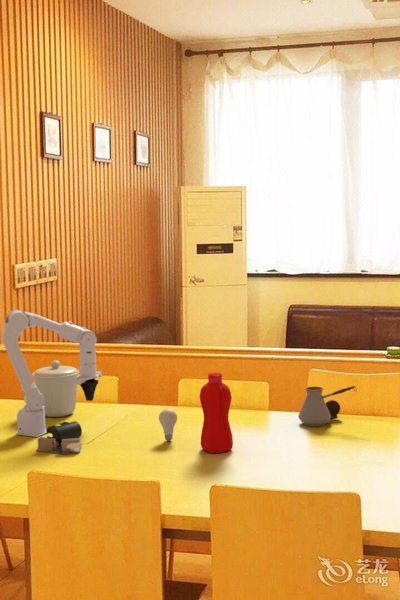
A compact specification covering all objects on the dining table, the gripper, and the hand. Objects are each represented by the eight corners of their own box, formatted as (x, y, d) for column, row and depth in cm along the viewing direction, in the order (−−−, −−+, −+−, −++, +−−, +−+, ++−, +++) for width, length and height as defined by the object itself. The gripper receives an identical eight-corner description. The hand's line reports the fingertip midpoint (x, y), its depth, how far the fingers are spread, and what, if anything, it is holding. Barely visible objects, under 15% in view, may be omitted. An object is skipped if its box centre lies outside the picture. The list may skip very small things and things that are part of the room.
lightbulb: (180, 439, 271) (179, 407, 270) (172, 444, 265) (171, 411, 264) (164, 437, 273) (163, 406, 272) (156, 442, 268) (155, 410, 267)
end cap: (60, 448, 264) (59, 428, 263) (46, 445, 268) (45, 425, 268) (82, 441, 272) (81, 422, 271) (68, 438, 276) (67, 419, 275)
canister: (77, 419, 301) (74, 364, 299) (29, 420, 302) (26, 365, 299) (84, 408, 319) (82, 355, 317) (39, 409, 319) (36, 356, 317)
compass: (334, 414, 299) (333, 395, 298) (340, 419, 291) (340, 399, 290) (313, 415, 298) (313, 396, 297) (319, 421, 290) (319, 401, 289)
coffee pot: (293, 425, 284) (292, 384, 282) (306, 418, 294) (305, 378, 292) (350, 432, 273) (350, 389, 271) (362, 424, 283) (361, 382, 281)
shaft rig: (36, 451, 262) (35, 438, 261) (46, 446, 267) (45, 434, 266) (73, 455, 255) (72, 443, 255) (83, 451, 260) (82, 438, 260)
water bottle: (213, 457, 250) (211, 378, 247) (197, 448, 260) (195, 372, 257) (239, 452, 254) (237, 374, 252) (222, 444, 264) (220, 369, 261)
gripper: (86, 367, 279) (87, 405, 280) (108, 360, 292) (109, 396, 293) (69, 366, 282) (71, 404, 283) (92, 359, 295) (93, 395, 296)
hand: (89, 400), depth 289 cm, fingers closed
